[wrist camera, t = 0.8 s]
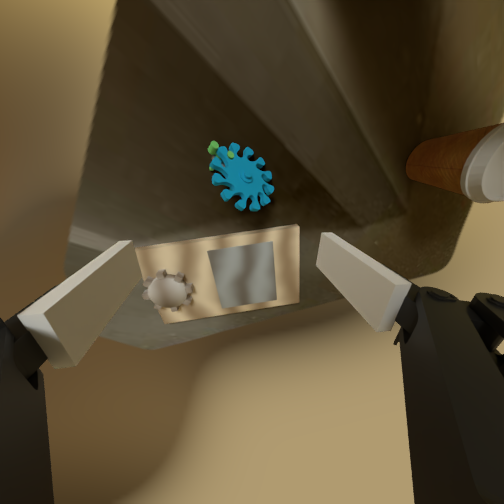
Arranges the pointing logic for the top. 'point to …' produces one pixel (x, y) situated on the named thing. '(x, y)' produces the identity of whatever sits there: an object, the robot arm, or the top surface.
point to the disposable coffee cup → (463, 163)
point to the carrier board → (222, 273)
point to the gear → (240, 175)
